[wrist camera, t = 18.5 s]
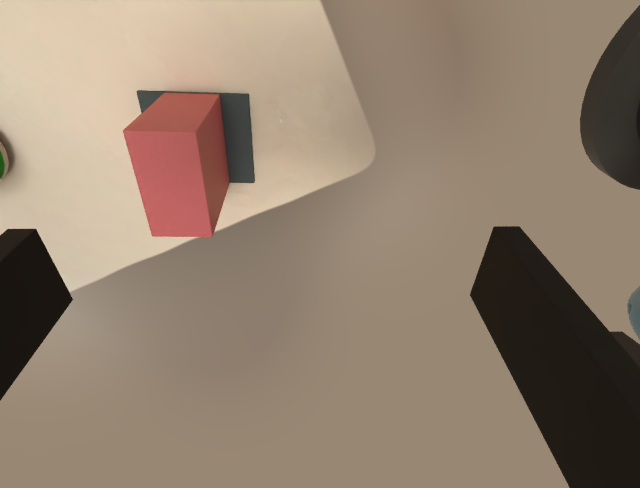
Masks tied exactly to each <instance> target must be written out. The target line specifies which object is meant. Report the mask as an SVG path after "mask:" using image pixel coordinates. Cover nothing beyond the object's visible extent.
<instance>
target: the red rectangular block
mask: <svg viewBox="0 0 640 488" xmlns="http://www.w3.org/2000/svg"><path fill="white" fill-rule="evenodd" d="M123 133H124V136H125V140H126V143H127V147H128V151H129V154H130V158H131V162H132V165H133V169H134V172H135V176H136V180H137V183H138V187H139V190H140V194H141V198H142V201H143V205H144V209H145V212H146V216H147V219H148V223H149V227H150V230H151V234H152V236H173V237H212V236H213V233H214V230H215V227H216V224H217V221H218V218H219V215H220V211H221V208H222V205H223V202H224V199H225V196H226V193H227V189H228V186H229V183H230V181H229V172H228V163H227V154H226V145H225V136H224V127H223V118H222V110H221V101H220V95H219V94H189V93H164V94H163V95H161V96H160V97H159V98H158V99H157V100H156V101H155V102H154V103H153V104H152V105H151V106H149V107H148V108H147V109H146V110H145V111H144V112H143V113H142V114H141V115H140V116H138V117H137V118H136V119H135V120H134V121H133V122H132V123H131V124H130V125H129V126H127V127H126V128H125V129H124V130H123Z"/></svg>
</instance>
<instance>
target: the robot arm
mask: <svg viewBox="0 0 640 488" xmlns="http://www.w3.org/2000/svg"><path fill="white" fill-rule="evenodd" d="M636 121H637V133H638V136H639V139H640V103H639V107H638V112H637V120H636ZM470 296H471V298H472V300H473V302H474V304H475V305H476V307H477V309H478V311H479V313H480V315H481V317H482V319H483V321H484V323H485V325H486V327H487V329H488V331H489V332H490V335H491V336H492V338H493V340H494V342H495V344H496V346H497V348H498V350H499V352H500V354H501V356H502V358H503V360H504V362H505V363H506V365H507V367H508V369H509V371H510V373H511V375H512V377H513V379H514V381H515V383H516V385H517V387H518V389H519V390H520V392H521V394H522V396H523V398H524V400H525V402H526V404H527V406H528V408H529V410H530V412H531V414H532V415H533V418H534V419H535V421H536V423H537V425H538V427H539V429H540V431H541V433H542V435H543V437H544V439H545V441H546V442H547V444H548V447H549V448H550V450H551V452H552V454H553V456H554V458H555V460H556V462H557V464H558V466H559V468H560V470H561V471H562V474H563V476H564V477H565V479H566V481H567V483H568V485H569V487H570V488H640V344H638V343H637V342H636V341H634V340H633V339H631V338H630V337H629V336H627V335H626V334H624V333H623V332H609V331H608V329H607V328H606V327H605V326H604V325H603V324H602V322H601V321H600V320H599V319H598V318H597V317H596V315H595V314H594V313H593V312H592V311H591V310H590V308H589V307H588V306H587V305H586V304H585V303H584V301H583V300H582V299H581V298H580V297H579V296H578V294H577V293H576V292H575V291H574V290H573V289H572V287H571V286H570V285H569V284H568V283H567V282H566V281H565V279H564V278H563V277H562V276H561V275H560V274H559V272H558V271H557V270H556V269H555V268H554V266H553V265H552V264H551V263H550V262H549V261H548V260H547V258H546V257H545V256H544V255H543V254H542V252H541V251H540V250H539V249H538V248H537V247H536V245H535V244H534V243H533V242H532V241H531V240H530V238H529V237H528V236H527V235H526V234H525V233H524V232H523V230H522V229H521V228H520V227H494V228H493V230H492V233H491V236H490V239H489V242H488V245H487V248H486V250H485V253H484V257H483V259H482V262H481V265H480V268H479V270H478V274H477V276H476V279H475V282H474V285H473V288H472V290H471V294H470ZM72 300H73V299H72V297H71V295H70V293H69V291H68V289H67V287H66V285H65V283H64V282H63V280H62V278H61V276H60V274H59V272H58V270H57V268H56V266H55V264H54V263H53V261H52V259H51V257H50V255H49V253H48V251H47V249H46V247H45V245H44V243H43V242H42V240H41V238H40V236H39V234H38V232H37V230H36V229H7V230H6V231H5V232H4V233H3V234H1V235H0V400H1V399H2V397H3V396H4V395H5V393H6V392H7V390H8V389H9V388H10V386H11V385H12V384H13V382H14V381H15V379H16V378H17V377H18V375H19V374H20V372H21V371H22V370H23V368H24V367H25V365H26V364H27V363H28V361H29V360H30V358H31V357H32V355H33V354H34V352H36V350H37V349H38V347H39V346H40V344H41V343H42V342H43V340H44V339H45V338H46V336H47V335H48V333H49V332H50V331H51V329H52V328H53V326H54V325H55V324H56V322H57V321H58V319H59V318H60V317H61V315H62V314H63V313H64V311H65V310H66V308H67V307H68V306H69V304H70V303H71V301H72ZM628 314H629V319H630V323H631V325H632V327H633V329H634V331H635V333H636V335H637V336H638V338H639V340H640V286H639V288H637V289H636V290H635V291H634V292H633V293H632V294H631V296H630V298H629V301H628Z"/></svg>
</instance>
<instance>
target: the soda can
mask: <svg viewBox="0 0 640 488" xmlns="http://www.w3.org/2000/svg"><path fill="white" fill-rule="evenodd" d="M8 165H9V160H8V157H7V153H6V150H5V148H4V146H3V144H2V143H1V141H0V180H2V178H3V177H4V176H5V174H6V173H7V171H8Z"/></svg>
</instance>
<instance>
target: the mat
mask: <svg viewBox="0 0 640 488" xmlns="http://www.w3.org/2000/svg"><path fill="white" fill-rule="evenodd" d="M164 93H189V94H219V95H220V101H221V110H222V118H223V127H224V136H225V145H226V154H227V163H228V172H229V181H230V183H254V181H255V180H254V166H253V151H252V137H251V122H250V107H249V94H232V93H200V92H168V91H137V95H138V99H139V103H140V108H141V112H142V113H143V112H144V111H145V110H146V109H147V108H148V107H149V106H151V105H152V104H153V103H154V102H155V101H156V100H157V99H158V98H159V97H160V96H161V95H163V94H164Z"/></svg>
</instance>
